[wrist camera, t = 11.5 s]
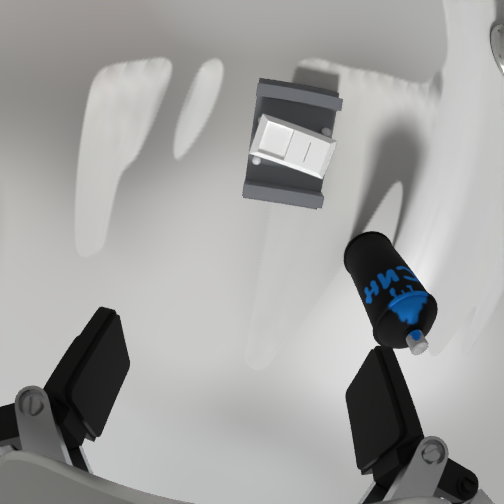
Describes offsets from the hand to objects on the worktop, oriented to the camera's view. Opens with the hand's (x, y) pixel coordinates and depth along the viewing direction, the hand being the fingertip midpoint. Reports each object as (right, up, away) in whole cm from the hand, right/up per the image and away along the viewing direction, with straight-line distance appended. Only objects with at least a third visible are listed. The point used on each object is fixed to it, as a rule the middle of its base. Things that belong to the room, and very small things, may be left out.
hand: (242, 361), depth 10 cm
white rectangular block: (+5, +17, +22) cm, 28 cm away
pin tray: (+5, +18, +25) cm, 31 cm away
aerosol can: (+18, +3, +32) cm, 37 cm away
